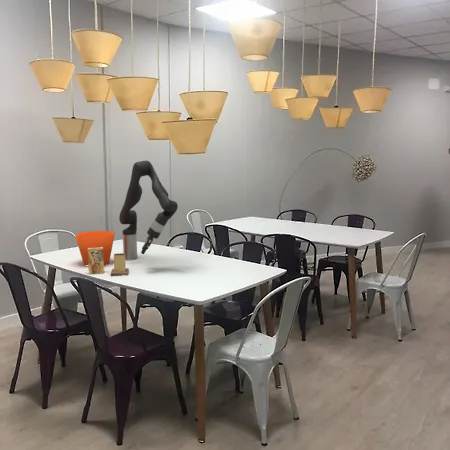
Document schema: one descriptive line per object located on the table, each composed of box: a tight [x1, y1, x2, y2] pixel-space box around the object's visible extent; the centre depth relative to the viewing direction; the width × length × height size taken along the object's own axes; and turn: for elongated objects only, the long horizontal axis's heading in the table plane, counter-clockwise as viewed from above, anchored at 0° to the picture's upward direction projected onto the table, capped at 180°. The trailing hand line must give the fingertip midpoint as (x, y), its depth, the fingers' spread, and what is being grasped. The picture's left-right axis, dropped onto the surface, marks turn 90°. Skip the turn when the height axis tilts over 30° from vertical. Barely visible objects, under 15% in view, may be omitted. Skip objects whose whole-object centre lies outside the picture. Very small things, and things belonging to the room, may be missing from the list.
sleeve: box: [113, 252, 127, 272], centre depth 292 cm, size 6×6×10 cm
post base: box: [110, 267, 130, 277], centre depth 292 cm, size 12×10×10 cm
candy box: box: [88, 247, 105, 275], centre depth 292 cm, size 9×4×15 cm, turn 104°
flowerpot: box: [74, 230, 116, 266], centre depth 317 cm, size 25×25×20 cm
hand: (142, 251), depth 296 cm, fingers open, 8 cm apart
